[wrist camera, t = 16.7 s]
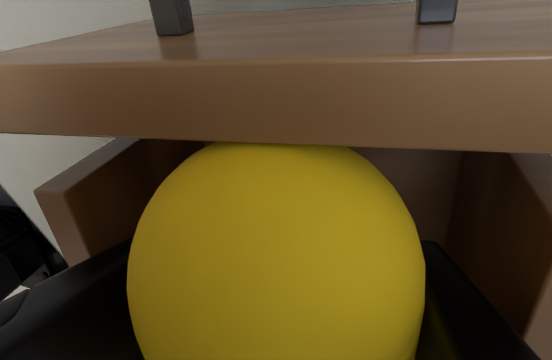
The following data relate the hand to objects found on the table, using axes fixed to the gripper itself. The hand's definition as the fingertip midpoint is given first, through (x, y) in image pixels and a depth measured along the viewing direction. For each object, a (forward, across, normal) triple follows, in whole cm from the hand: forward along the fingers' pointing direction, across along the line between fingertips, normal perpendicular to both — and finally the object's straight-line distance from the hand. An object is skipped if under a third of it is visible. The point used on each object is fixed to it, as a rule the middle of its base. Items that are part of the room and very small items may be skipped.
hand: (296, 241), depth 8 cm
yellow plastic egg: (+1, 0, 0) cm, 1 cm away
